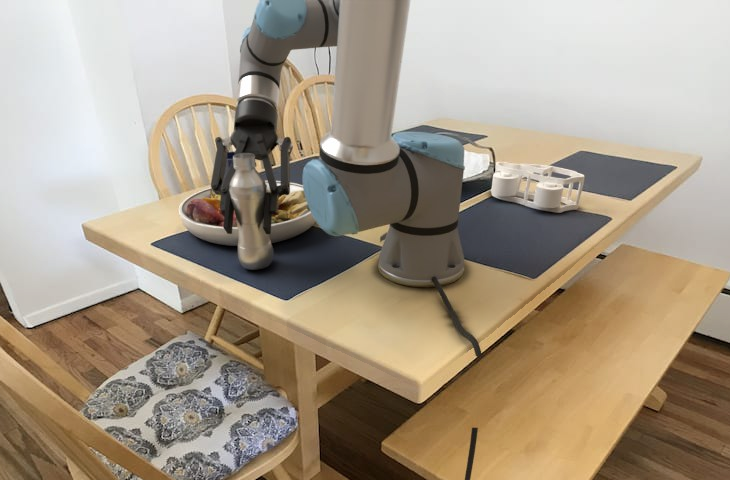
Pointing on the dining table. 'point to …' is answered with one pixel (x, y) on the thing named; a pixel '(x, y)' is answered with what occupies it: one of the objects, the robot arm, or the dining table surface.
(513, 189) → the car outline toy
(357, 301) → the dining table surface
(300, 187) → the bowl
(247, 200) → the silver metal bottle
